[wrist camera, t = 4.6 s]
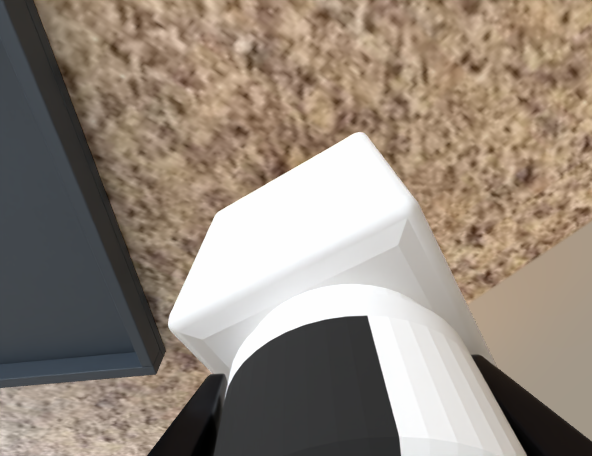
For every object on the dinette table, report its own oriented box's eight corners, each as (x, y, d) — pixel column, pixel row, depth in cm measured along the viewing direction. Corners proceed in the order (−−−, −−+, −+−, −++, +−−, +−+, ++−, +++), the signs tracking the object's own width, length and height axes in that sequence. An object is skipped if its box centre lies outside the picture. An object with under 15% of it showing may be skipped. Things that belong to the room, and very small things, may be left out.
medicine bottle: (297, 322, 19) (300, 701, 8) (212, 212, 16) (42, 569, 5) (430, 261, 17) (659, 634, 6) (362, 126, 14) (567, 387, 4)
